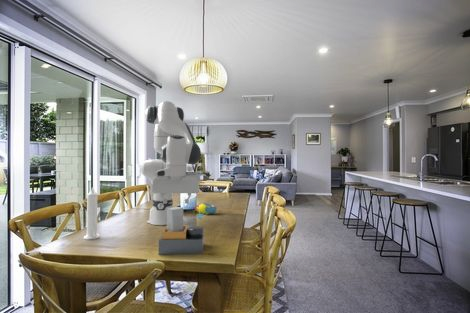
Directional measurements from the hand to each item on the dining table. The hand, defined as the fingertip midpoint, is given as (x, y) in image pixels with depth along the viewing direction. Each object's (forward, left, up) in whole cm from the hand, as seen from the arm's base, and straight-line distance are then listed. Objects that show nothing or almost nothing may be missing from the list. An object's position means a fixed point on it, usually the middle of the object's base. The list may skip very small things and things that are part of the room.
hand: (175, 203), depth 112 cm
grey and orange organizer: (0, +3, -20) cm, 20 cm away
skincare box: (0, 0, -14) cm, 14 cm away
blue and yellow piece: (-70, +11, -21) cm, 74 cm away
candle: (-19, -44, -20) cm, 52 cm away
